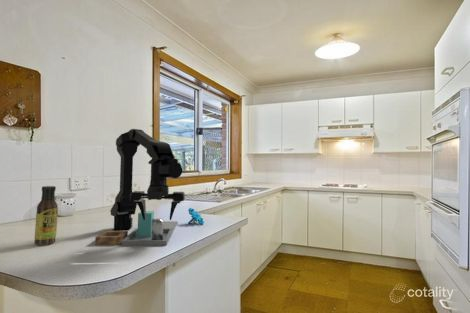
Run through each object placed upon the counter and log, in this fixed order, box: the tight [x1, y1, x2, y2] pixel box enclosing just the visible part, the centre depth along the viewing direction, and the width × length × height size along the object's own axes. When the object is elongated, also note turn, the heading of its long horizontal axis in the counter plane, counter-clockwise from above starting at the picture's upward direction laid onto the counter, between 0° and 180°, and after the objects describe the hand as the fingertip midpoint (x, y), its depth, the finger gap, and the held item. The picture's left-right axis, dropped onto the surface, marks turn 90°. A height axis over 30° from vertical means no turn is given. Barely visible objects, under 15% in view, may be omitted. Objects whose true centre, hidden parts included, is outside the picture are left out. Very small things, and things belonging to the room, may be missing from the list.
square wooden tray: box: [94, 230, 129, 246], centre depth 100 cm, size 8×8×3 cm
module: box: [137, 210, 155, 237], centre depth 109 cm, size 5×5×9 cm
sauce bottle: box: [34, 185, 59, 246], centre depth 97 cm, size 6×6×20 cm
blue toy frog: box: [187, 207, 205, 226], centre depth 133 cm, size 11×6×10 cm
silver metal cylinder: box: [151, 218, 164, 240], centre depth 101 cm, size 4×4×8 cm
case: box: [121, 220, 179, 247], centre depth 114 cm, size 15×36×2 cm, turn 6°
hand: (157, 219), depth 101 cm, fingers open, 9 cm apart
